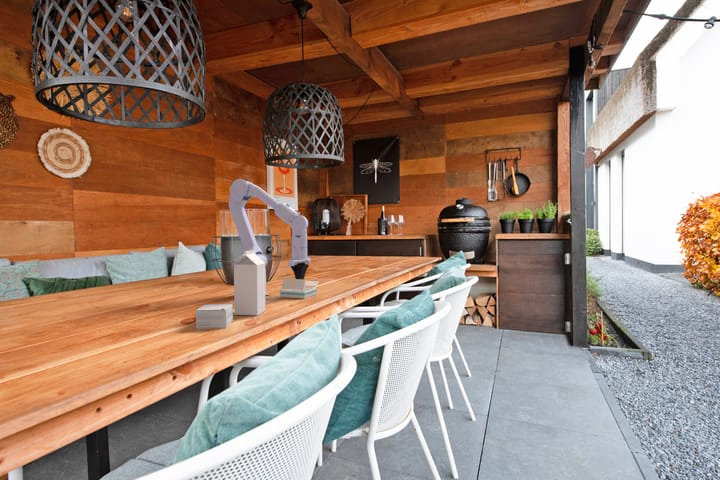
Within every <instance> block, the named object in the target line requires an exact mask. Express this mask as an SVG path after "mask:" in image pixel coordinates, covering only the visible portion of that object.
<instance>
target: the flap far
mask: <svg viewBox="0 0 720 480" xmlns="http://www.w3.org/2000/svg"><path fill="white" fill-rule="evenodd" d="M319 283H320V281H317V280H306V282H305V286H304V287H314V288H317V285H318V284H319Z"/></svg>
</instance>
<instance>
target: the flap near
mask: <svg viewBox="0 0 720 480" xmlns="http://www.w3.org/2000/svg"><path fill="white" fill-rule="evenodd" d="M306 281H307V280H306V279H304V280H303V279H296V278H283V281H282V284H281V285H282V286H281V289H280V290H283V289H290V290H304V287H306V286H305V282H306Z"/></svg>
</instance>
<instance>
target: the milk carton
mask: <svg viewBox="0 0 720 480" xmlns="http://www.w3.org/2000/svg"><path fill="white" fill-rule="evenodd" d="M265 269H266V267H265V262H264V261H262V260H261V259H260V258H259V257H258V256H257V255H256V254H255V253H254V250H250V251H245V254H241V255H240V256H239V257H238V261H236V262H235V263H234V265H233V290H234V291H233V294H234V300H233V301H234V302H233V303H234V305H233V316H234V315H235V316H259V315H260V314H262V313H264V312H265V311H266V295H265Z"/></svg>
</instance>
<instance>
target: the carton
mask: <svg viewBox="0 0 720 480" xmlns="http://www.w3.org/2000/svg"><path fill="white" fill-rule="evenodd" d="M317 291H318V290H317V287H307V286H304V290H290V289H280V290H279V297H280V298H286V299H287V298H289V299H301V300H304V299H308V298H310V297H313V296H315V295H317Z"/></svg>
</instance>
